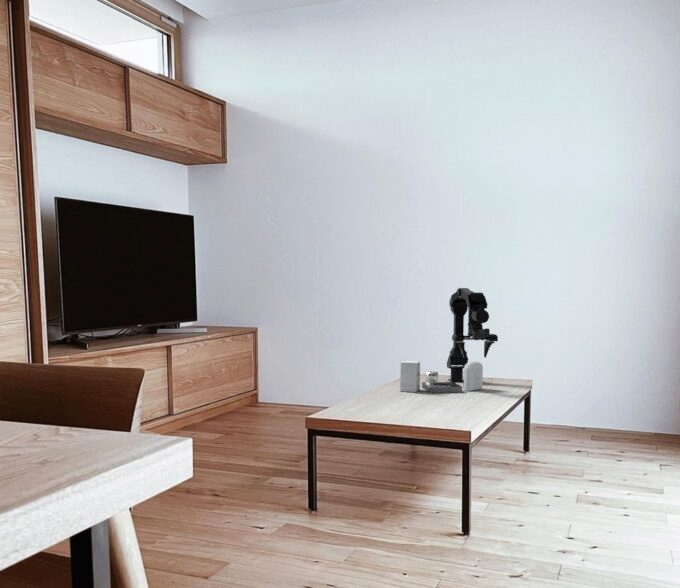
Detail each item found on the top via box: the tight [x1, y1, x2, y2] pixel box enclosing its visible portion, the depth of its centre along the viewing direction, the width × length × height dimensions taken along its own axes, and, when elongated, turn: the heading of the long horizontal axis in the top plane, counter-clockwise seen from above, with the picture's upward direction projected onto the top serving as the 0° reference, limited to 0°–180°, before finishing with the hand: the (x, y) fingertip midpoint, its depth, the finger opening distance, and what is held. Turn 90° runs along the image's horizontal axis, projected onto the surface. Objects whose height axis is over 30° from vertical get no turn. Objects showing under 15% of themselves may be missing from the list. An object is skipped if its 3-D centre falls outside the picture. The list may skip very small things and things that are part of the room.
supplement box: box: [399, 360, 421, 393], centre depth 294 cm, size 7×7×13 cm
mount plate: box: [421, 381, 463, 394], centre depth 296 cm, size 14×14×2 cm
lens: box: [425, 371, 439, 382], centre depth 309 cm, size 6×6×6 cm
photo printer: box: [462, 360, 484, 392], centre depth 297 cm, size 10×4×12 cm, turn 134°
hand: (474, 357), depth 294 cm, fingers open, 9 cm apart
